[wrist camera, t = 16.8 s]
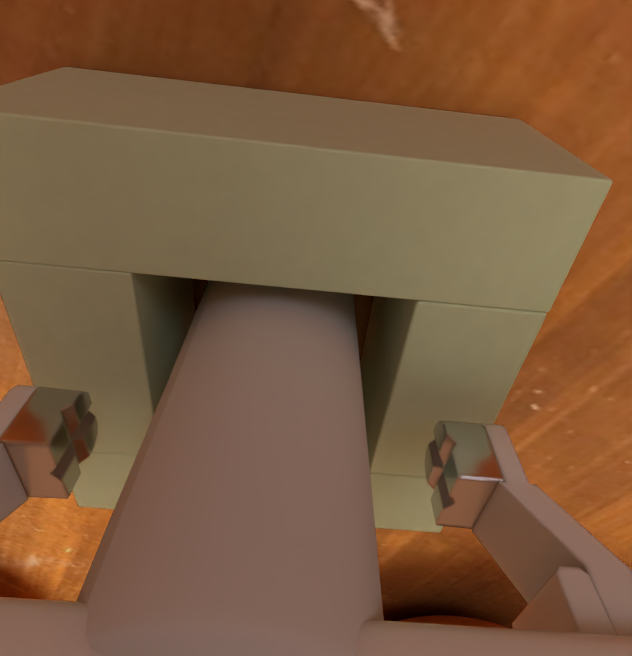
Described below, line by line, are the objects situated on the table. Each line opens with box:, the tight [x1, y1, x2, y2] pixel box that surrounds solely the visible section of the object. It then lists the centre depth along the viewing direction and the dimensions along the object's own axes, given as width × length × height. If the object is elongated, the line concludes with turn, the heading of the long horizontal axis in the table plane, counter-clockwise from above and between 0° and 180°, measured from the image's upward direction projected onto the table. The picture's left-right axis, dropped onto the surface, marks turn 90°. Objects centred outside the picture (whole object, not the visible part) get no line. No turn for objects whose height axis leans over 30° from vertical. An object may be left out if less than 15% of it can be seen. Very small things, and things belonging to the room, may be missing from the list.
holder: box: [0, 67, 612, 532], centre depth 14 cm, size 12×12×5 cm
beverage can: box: [76, 280, 384, 656], centre depth 11 cm, size 5×5×12 cm
